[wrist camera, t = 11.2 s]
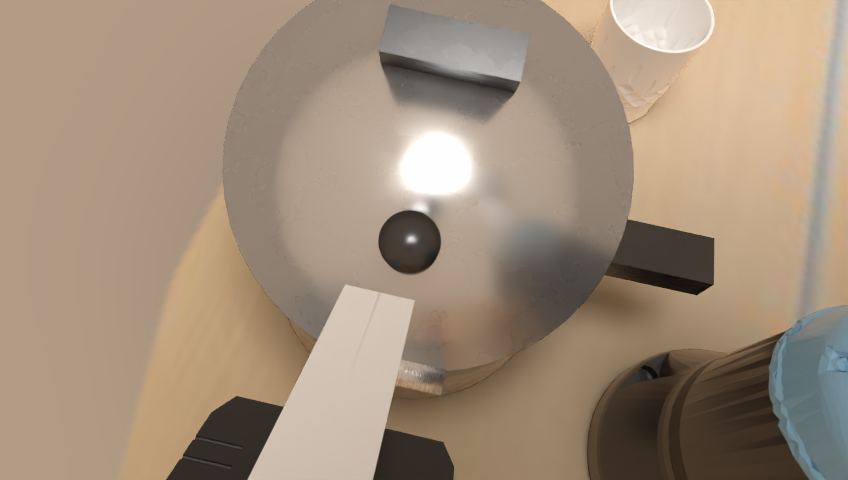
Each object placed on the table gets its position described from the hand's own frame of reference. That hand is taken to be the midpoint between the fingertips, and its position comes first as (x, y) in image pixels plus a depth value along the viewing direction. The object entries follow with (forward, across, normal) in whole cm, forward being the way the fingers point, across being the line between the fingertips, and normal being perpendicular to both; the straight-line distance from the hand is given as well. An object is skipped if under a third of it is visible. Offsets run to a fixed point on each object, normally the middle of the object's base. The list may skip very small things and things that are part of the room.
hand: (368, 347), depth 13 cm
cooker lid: (+20, 0, -1) cm, 20 cm away
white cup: (+45, +14, +3) cm, 47 cm away
